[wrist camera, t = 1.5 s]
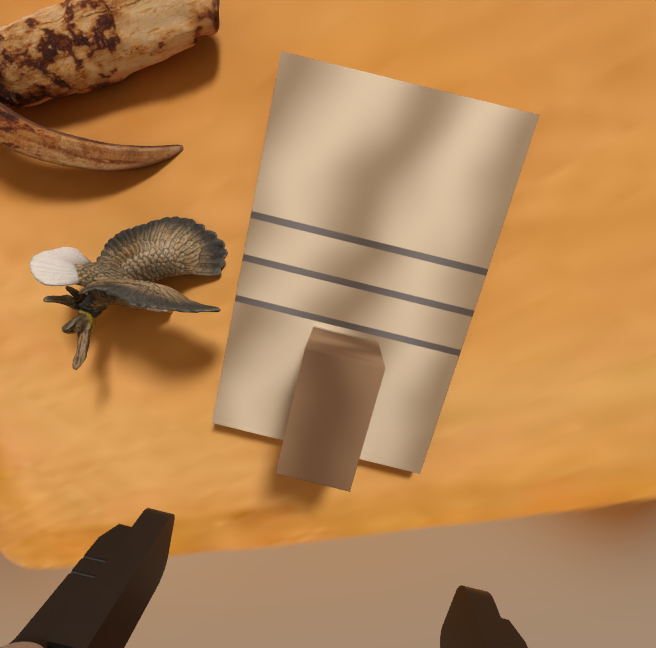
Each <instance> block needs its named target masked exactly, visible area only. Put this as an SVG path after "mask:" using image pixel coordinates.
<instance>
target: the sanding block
mask: <svg viewBox="0 0 656 648" xmlns="http://www.w3.org/2000/svg"><path fill="white" fill-rule="evenodd" d="M384 372H385V365H384V361H383V358H382V354H381V351H380V347H379V343H378V341H375V340H371V339H367V338H363V337H359V336H355V335H351V334H347V333H342V332H338V331H334V330H330V329H326V328H322V327H318V326H314V327H313V329H312V332H311V334H310V337H309V339H308V342H307V344H306V347H305V350H304V354H303V359H302V363H301V367H300V371H299V376H298V380H297V384H296V388H295V393H294V397H293V401H292V405H291V410H290V414H289V418H288V422H287V427H286V431H285V435H284V439H283V444H282V448H281V452H280V456H279V461H278V465H277V469H276V474H280V475H284V476H288V477H292V478H296V479H300V480H304V481H308V482H312V483H316V484H321V485H325V486H329V487H333V488H337V489H341V490H345V491H349V492H350V489H351V486H352V483H353V479H354V476H355V472H356V469H357V465H358V462H359V458H360V455H361V451H362V448H363V445H364V441H365V438H366V434H367V431H368V427H369V424H370V420H371V417H372V413H373V410H374V406H375V403H376V400H377V396H378V393H379V389H380V386H381V382H382V379H383V375H384Z"/></svg>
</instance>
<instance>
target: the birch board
mask: <svg viewBox="0 0 656 648" xmlns="http://www.w3.org/2000/svg"><path fill="white" fill-rule="evenodd" d="M538 118H539V115H537V114H533V113H529V112H525V111H521V110H517V109H513V108H509V107H505V106H501V105H497V104H493V103H489V102H485V101H481V100H477V99H473V98H469V97H465V96H461V95H456V94H452V93H448V92H444V91H440V90H436V89H432V88H428V87H424V86H420V85H416V84H412V83H408V82H404V81H400V80H396V79H392V78H388V77H384V76H379V75H375V74H371V73H367V72H363V71H359V70H355V69H351V68H347V67H343V66H339V65H335V64H331V63H327V62H323V61H319V60H315V59H311V58H307V57H303V56H298V55H294V54H290V53H286V52H282V51H281V56H280V62H279V67H278V72H277V78H276V83H275V88H274V94H273V99H272V104H271V110H270V115H269V121H268V126H267V131H266V137H265V142H264V147H263V153H262V158H261V163H260V169H259V174H258V180H257V185H256V190H255V196H254V201H253V206H252V212H251V217H250V223H249V228H248V233H247V239H246V244H245V249H244V255H243V260H242V265H241V271H240V276H239V282H238V287H237V292H236V298H235V303H234V308H233V314H232V319H231V325H230V330H229V335H228V341H227V346H226V351H225V357H224V362H223V367H222V373H221V378H220V384H219V389H218V394H217V400H216V405H215V410H214V416H213V421H212V423H214V424H218V425H223V426H227V427H231V428H235V429H239V430H243V431H247V432H251V433H255V434H259V435H263V436H267V437H272V438H276V439H280V440H283V439H284V435H285V431H286V427H287V422H288V418H289V414H290V410H291V405H292V401H293V397H294V393H295V388H296V384H297V380H298V376H299V371H300V367H301V363H302V359H303V354H304V350H305V347H306V344H307V342H308V339H309V337H310V334H311V332H312V329H313V327H314V326H318V327H322V328H326V329H330V330H334V331H338V332H342V333H347V334H351V335H355V336H359V337H363V338H367V339H371V340H375V341H378V343H379V347H380V351H381V354H382V358H383V361H384V365H385V372H384V375H383V379H382V382H381V386H380V389H379V393H378V396H377V400H376V403H375V406H374V410H373V413H372V417H371V420H370V424H369V427H368V431H367V434H366V438H365V441H364V445H363V448H362V451H361V455H360V458H359V459H361V460H366V461H370V462H374V463H378V464H382V465H386V466H390V467H394V468H398V469H402V470H406V471H410V472H415V473H419V474H420V472H421V469H422V466H423V463H424V460H425V457H426V454H427V451H428V448H429V445H430V442H431V439H432V436H433V433H434V430H435V427H436V424H437V421H438V418H439V415H440V412H441V409H442V406H443V403H444V400H445V397H446V394H447V391H448V388H449V385H450V382H451V379H452V376H453V373H454V370H455V367H456V364H457V361H458V358H459V355H460V352H461V349H462V346H463V343H464V340H465V337H466V334H467V331H468V328H469V325H470V322H471V319H472V316H473V313H474V310H475V307H476V304H477V301H478V298H479V295H480V292H481V289H482V286H483V283H484V280H485V277H486V274H487V271H488V268H489V265H490V262H491V259H492V256H493V253H494V250H495V247H496V244H497V241H498V238H499V235H500V232H501V229H502V226H503V223H504V220H505V217H506V214H507V211H508V208H509V205H510V202H511V199H512V196H513V193H514V190H515V187H516V184H517V181H518V178H519V175H520V172H521V169H522V166H523V163H524V160H525V157H526V154H527V151H528V148H529V145H530V142H531V139H532V136H533V133H534V130H535V127H536V124H537V121H538Z"/></svg>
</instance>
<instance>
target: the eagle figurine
mask: <svg viewBox="0 0 656 648" xmlns="http://www.w3.org/2000/svg"><path fill="white" fill-rule="evenodd" d="M204 227H205V226H204V225H203V224H196V222H195V221H194V220H193V219H187V218H179V217H172V218H169V217H165V218H163V219H161V220H155V221H151V222H149V223H147V224H142V225H140V226H135V227H134V228H132V229H130V228H129V229H126V230H123V231H121V232H120V233H118V234H116V235H115V236H114V237H113V238H111V239H109V240H108V243H106V244H105V246H104V247H105V248H104V250H102V252H101V256H99V257H98V258H97V262H93V263H91V261H90V260H88V259H87V258H86V257H85V256H84V255H83V254H82V253H81V252H80V251H78V250H77V249H76V248H72V247H61V248H56V249H53V250H45V251H42V252H41V253H40V254H36V255H35V256H33V257H32V260H31V262H30V269H31V273H32V274H33V276H34V278H35V279H36V280H38V281H39V282H40V283H42V284H44V285H49V286H64V285H73V284H77V285H81V286H84V287H85V288H83V289H82V290H80V292H79V291H77V290H76V289H74V288H72V287H69V286H66V290H67V291H68V292H69V293H70V294H71V295H72V296H73V297H74V298H73V297H72V296H69V295H63V296H47V297H45V298H44V300H43V301H44V302H55V303H60V304H64V305H67V306H69V307H71V308H72V309H78V316H76V317H75V318H73V319H72V320H70V321H69V322H68V323H66V324H65V325H64V326H63V327H62V331H63V332H64V333H68V334H71V333H76V332H78V346H77V352H76V355H75V357H74V359H73V369H75V370H77V369H78V368H79V367H80V366H81V365H82V363H83V362H84V360H85V359H86V357H87V351H88V348H89V343H90V334H91V333H92V331H93V329H94V326H95V323H96V318H97V316H98V315H100V314H101V313H102V311H103V310H105V309H106V308H107V306H108V305H111V304H119V305H122V306H124V307H128V308H133V309H143V310H151V311H156V312H168V313H169V314H172V312H173V311H178V312H194V313H198V312H219V311H220V310H221V309H219V308H218V307H214V306H207V305H203V304H200V303H197V302H195V301H192V300H190V299H188V298H187V297H186V296H184V295H183V294H181V293H179V292H178V291H177V290H175V289H173V288H171V287H169V286H165V285H161V284H157V283H154V282H156V281H157V280H160V279H163V278H168V277H173V276H179V275H188V274H190V275H199V276H203V275H205V276H216V275H217V276H218V275H220V274H221V268H222V267H223V266H225V264H226V263H225V260H224V259H223V258H225V257H226V256H227V254H228V252H227V250H226V249H224V247H225V243H224V241H222V240H220V239H217V234H216V233H215V232H213V231H210V230H204ZM87 292H88V295H86V294H85V293H87Z"/></svg>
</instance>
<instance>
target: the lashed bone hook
mask: <svg viewBox="0 0 656 648" xmlns="http://www.w3.org/2000/svg"><path fill="white" fill-rule="evenodd" d="M218 29H219V0H66V1H65V2H64V3H60V4H56V5H52V6H49V7H45V8H43V9H40V10H37V11H35V12H34V13H33V14H31V15H28V16H25V17H22V18H19V19H18V20H16V21H15V22H12V23H10V24H7V25H5V26H3V27H0V144H1V145H2V146H4V147H6V148H8V149H10V150H13V151H15V152H18V153H21V154H23V155H26V156H29V157H32V158H35V159H39V160H42V161H46V162H50V163H54V164H58V165H63V166H68V167H75V168H81V169H88V170H99V171H119V170H130V169H138V168H143V167H147V166H151V165H154V164H157V163H160V162H163V161H166V160H168V159H170V158H173V157H174V156H176V155H178V154H179V153H180V152H182V151H183V146H181V145H166V146H133V145H118V144H110V143H104V142H98V141H94V140H89V139H85V138H81V137H77V136H73V135H69V134H65V133H62V132H58V131H55V130H52V129H49V128H47V127H44V126H42V125H39V124H37V123H35V122H33V121H31V120H29V119H27V118H25V117H23V116H21V115H20V114H18V113H16V112H14V111H13V110H15V109H18V108H21V107H30V106H37V105H39V104H41V103H44V102H46V101H48V100H49V99H52V98H59V97H65V96H70V95H71V94H73V93H80V94H83V93H87V92H89V91H91V90H94V89H97V88H100V87H106V86H109V85H112V84H115V83H119V82H121V81H123V80H124V79H125V78H126V77H127V76H129V75H130V74H131V73H133V72H136V71H138V70H140V69H143V68H145V67H147V66H151V65H154V64H156V63H159V62H162V61H165V60H166V59H168V58H169V57H171V56H172V55H175V54H177V53H180V52H182V51H183V50H185V49H188V48H191V47H193V46H195V45H196V43H197V37H199V36H204V35H213V34H215V33H217V31H218Z"/></svg>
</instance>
